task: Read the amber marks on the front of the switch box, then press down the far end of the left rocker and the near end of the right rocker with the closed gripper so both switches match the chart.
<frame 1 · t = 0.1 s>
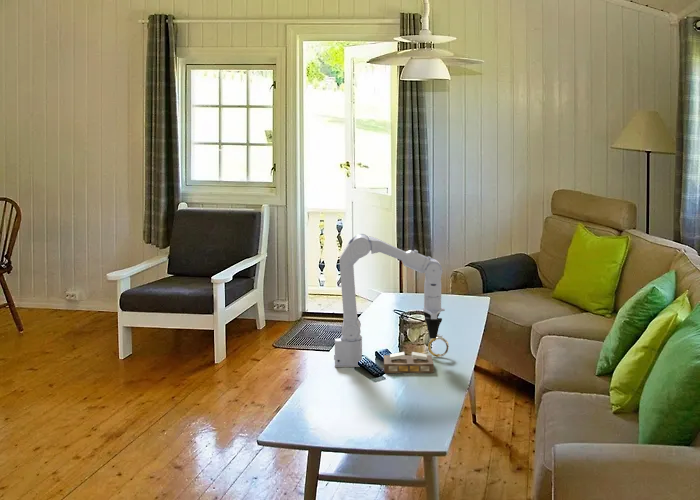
hand: (432, 335, 282), 10 cm above the table, fingers open, 7 cm apart
ring: (438, 357, 292), on the table
rocker right: (419, 355, 278), point 4 cm above the table, hinge at 10.0°
switch box: (408, 368, 279), on the table
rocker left: (397, 355, 278), point 4 cm above the table, hinge at -10.0°
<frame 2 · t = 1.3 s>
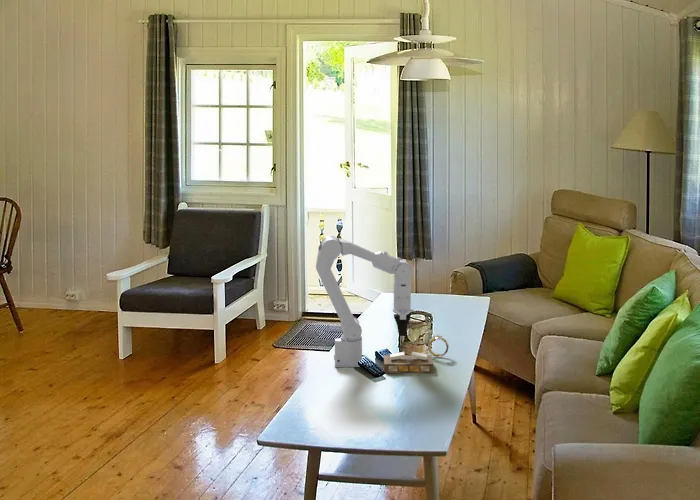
hand: (402, 335, 284), 9 cm above the table, fingers closed
nothing on the table moved.
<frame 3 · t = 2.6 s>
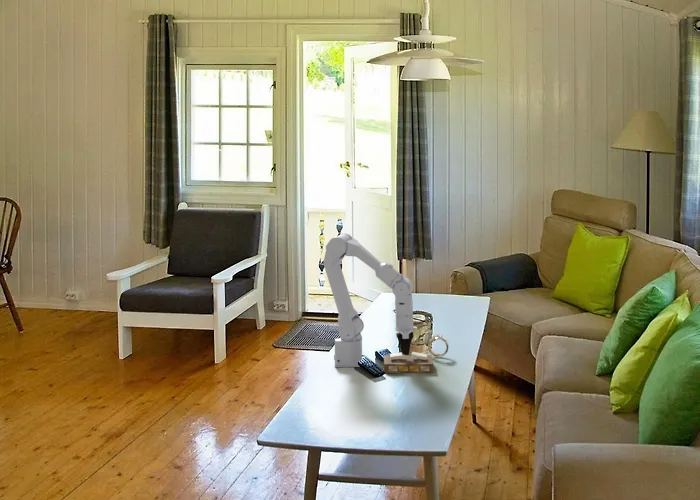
hand: (405, 354, 278), 5 cm above the table, fingers closed, pressing on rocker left
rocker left: (397, 355, 278), point 4 cm above the table, hinge at -7.0°, touching gripper
everything else where it was.
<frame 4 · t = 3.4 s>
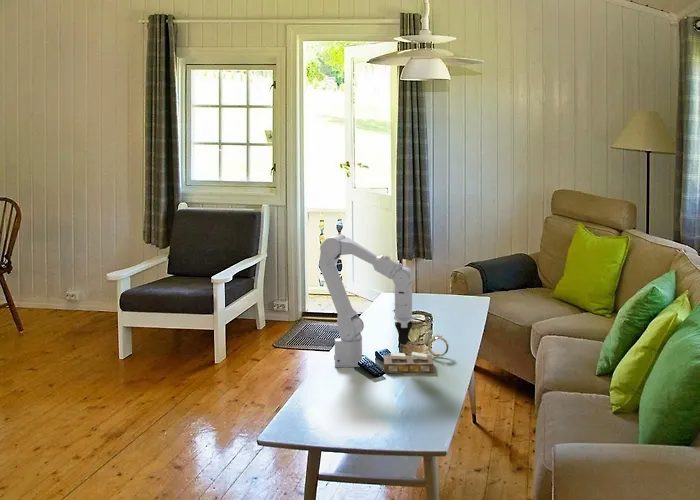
hand: (403, 343, 278), 8 cm above the table, fingers closed
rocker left: (397, 355, 278), point 4 cm above the table, hinge at 4.5°
everything else where it was.
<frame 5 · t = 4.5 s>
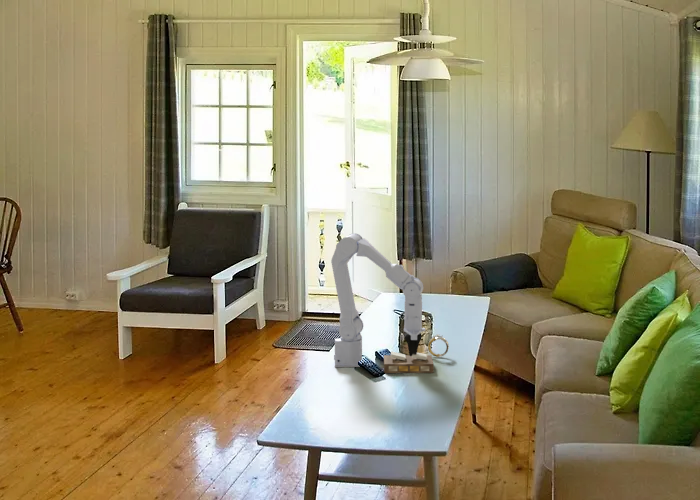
hand: (412, 355, 278), 4 cm above the table, fingers closed, pressing on rocker right
rocker right: (419, 355, 278), point 4 cm above the table, hinge at 9.1°, touching gripper
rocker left: (398, 355, 278), point 4 cm above the table, hinge at 13.9°
everything else where it was.
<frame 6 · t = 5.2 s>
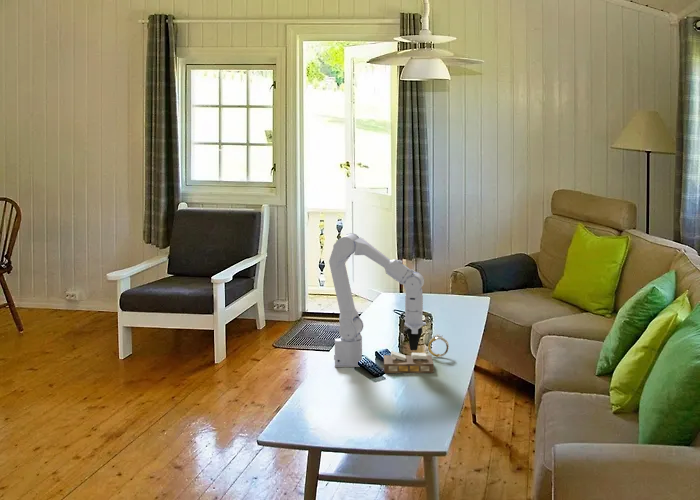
hand: (413, 349, 278), 6 cm above the table, fingers closed
rocker right: (418, 355, 278), point 4 cm above the table, hinge at 2.8°
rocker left: (398, 355, 278), point 4 cm above the table, hinge at 18.4°
everything else where it was.
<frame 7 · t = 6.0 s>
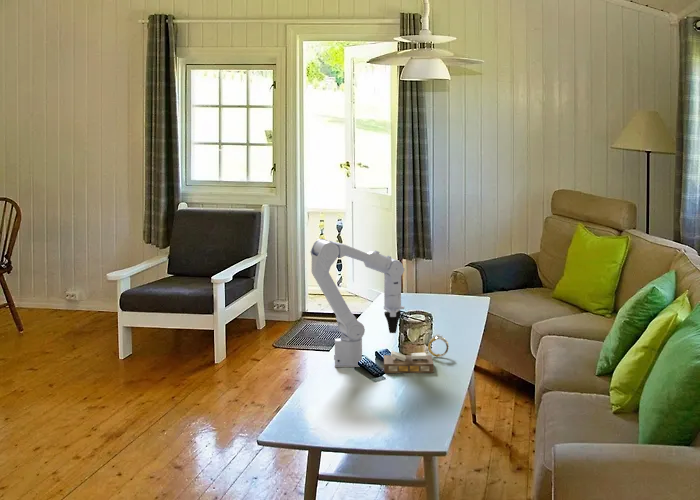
hand: (392, 332, 288), 9 cm above the table, fingers closed
rocker right: (418, 355, 278), point 4 cm above the table, hinge at -2.9°
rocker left: (398, 355, 278), point 4 cm above the table, hinge at 21.9°, touching switch box
everything else where it was.
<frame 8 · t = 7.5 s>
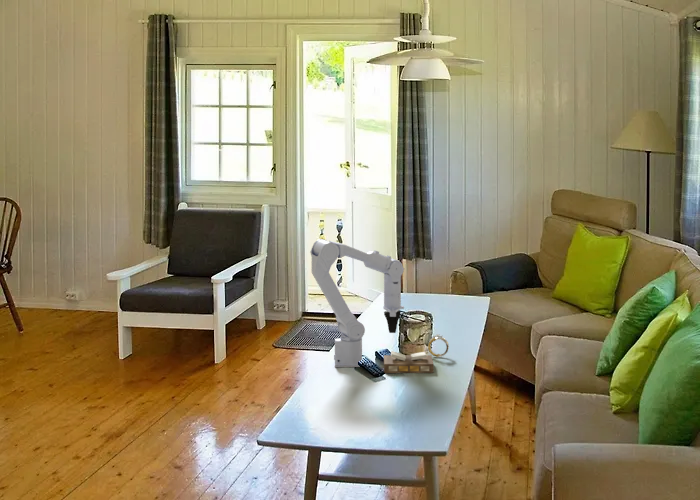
hand: (392, 332, 288), 9 cm above the table, fingers closed
rocker right: (418, 355, 278), point 4 cm above the table, hinge at -10.5°
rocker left: (398, 355, 278), point 4 cm above the table, hinge at 18.0°
everything else where it was.
at the end: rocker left at +18° (first picture: -10°); rocker right at -10° (first picture: +10°); ring moved 0.2 cm from its start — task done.
